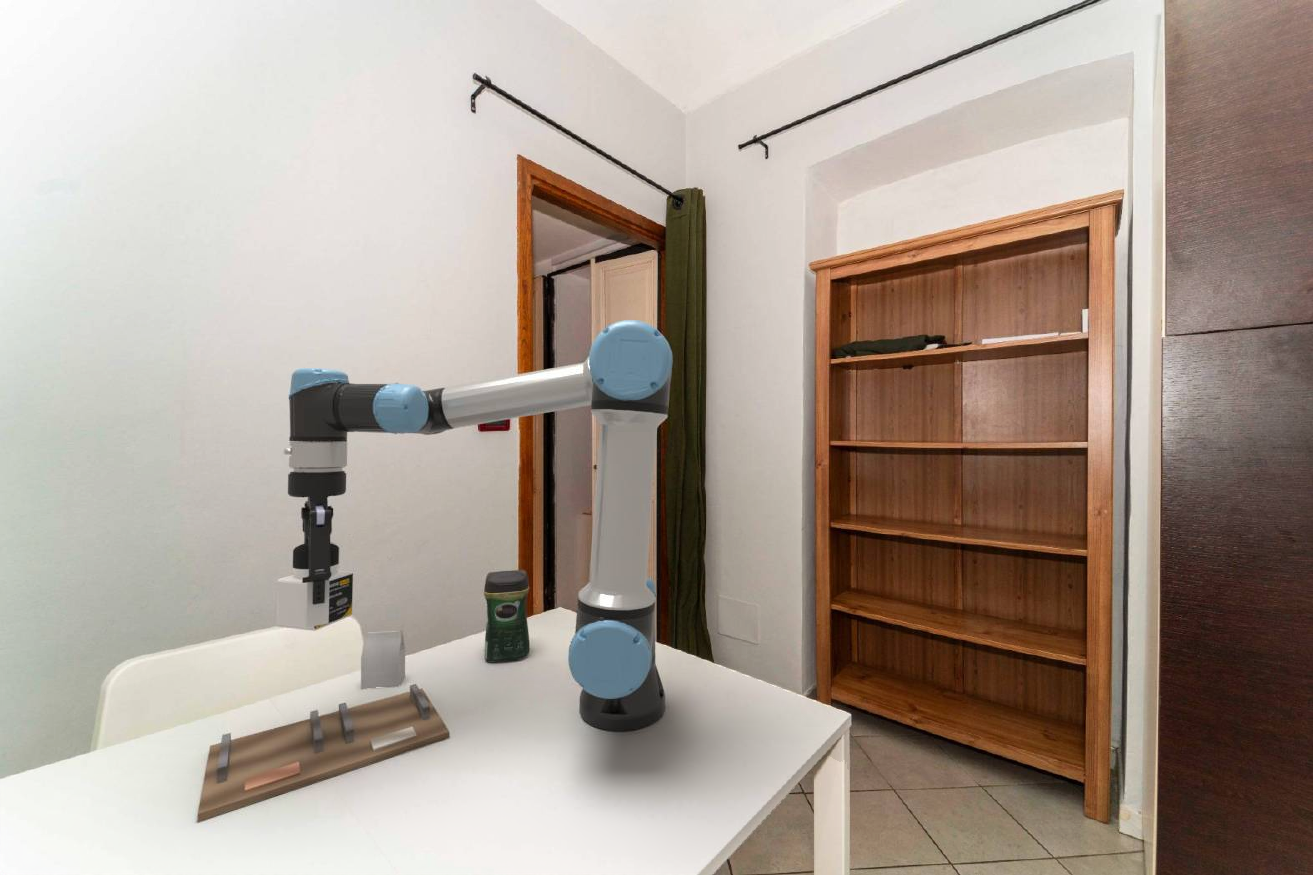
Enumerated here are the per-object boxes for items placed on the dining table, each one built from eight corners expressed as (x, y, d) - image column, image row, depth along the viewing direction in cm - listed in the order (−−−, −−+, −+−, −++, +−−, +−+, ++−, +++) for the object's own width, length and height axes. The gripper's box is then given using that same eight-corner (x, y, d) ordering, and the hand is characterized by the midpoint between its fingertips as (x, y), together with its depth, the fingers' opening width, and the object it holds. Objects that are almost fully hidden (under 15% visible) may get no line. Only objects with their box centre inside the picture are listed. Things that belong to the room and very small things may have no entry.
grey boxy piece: (398, 686, 99) (398, 634, 99) (360, 689, 98) (361, 636, 98) (405, 677, 103) (405, 627, 103) (368, 680, 102) (368, 629, 102)
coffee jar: (529, 646, 118) (529, 565, 118) (530, 660, 111) (530, 574, 111) (484, 650, 116) (485, 568, 116) (482, 665, 108) (482, 577, 108)
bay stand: (449, 737, 82) (449, 718, 82) (197, 822, 64) (197, 797, 64) (422, 693, 96) (422, 677, 96) (210, 752, 78) (210, 732, 78)
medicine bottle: (314, 631, 75) (316, 549, 75) (274, 627, 77) (276, 546, 77) (353, 615, 82) (354, 540, 82) (315, 611, 84) (317, 537, 84)
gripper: (286, 466, 86) (283, 599, 86) (290, 475, 68) (286, 643, 68) (339, 465, 91) (336, 592, 91) (355, 473, 73) (352, 631, 73)
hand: (314, 614), depth 79 cm, fingers closed on medicine bottle, 10 cm apart
